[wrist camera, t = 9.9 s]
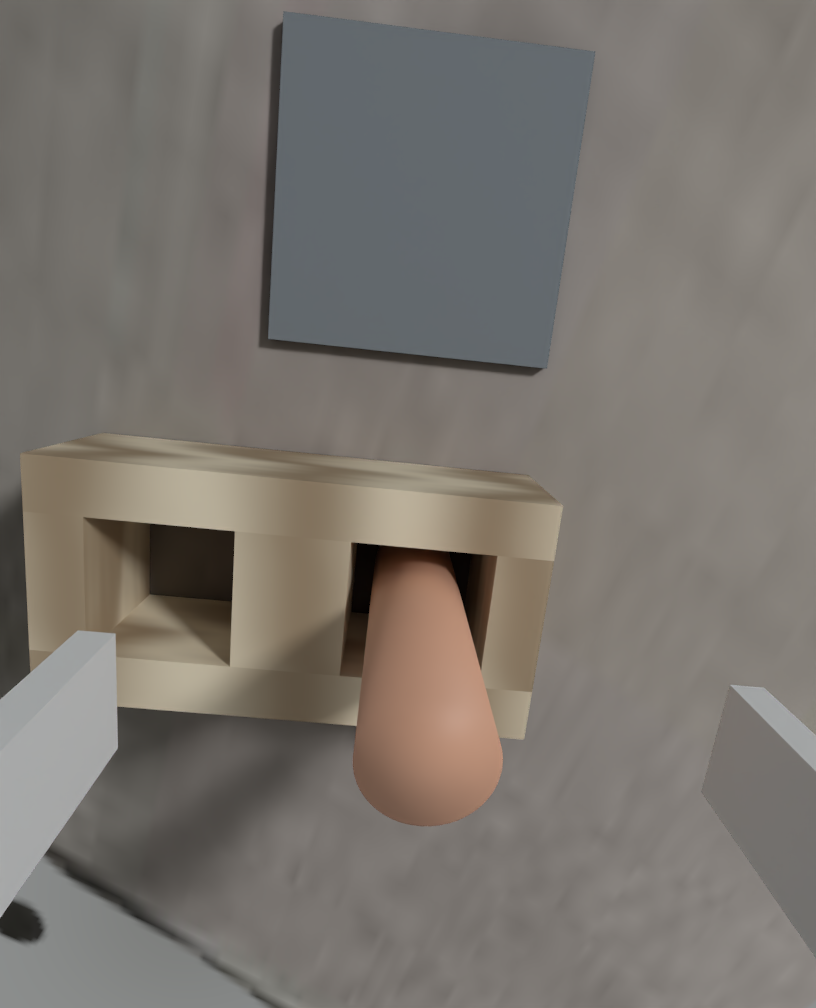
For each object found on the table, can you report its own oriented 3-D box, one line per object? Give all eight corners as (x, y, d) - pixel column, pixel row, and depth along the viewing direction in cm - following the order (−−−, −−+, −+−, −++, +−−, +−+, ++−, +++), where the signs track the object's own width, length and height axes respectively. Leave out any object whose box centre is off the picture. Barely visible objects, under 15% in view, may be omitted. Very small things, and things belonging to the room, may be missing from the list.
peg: (371, 596, 24) (347, 821, 12) (378, 524, 23) (359, 689, 12) (446, 602, 24) (492, 830, 12) (455, 531, 23) (512, 701, 12)
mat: (270, 339, 22) (268, 338, 21) (286, 18, 19) (283, 11, 19) (544, 368, 22) (546, 368, 22) (591, 57, 20) (595, 51, 19)
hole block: (105, 631, 24) (31, 699, 19) (102, 432, 22) (19, 453, 17) (498, 664, 25) (523, 739, 20) (527, 475, 23) (563, 505, 18)
